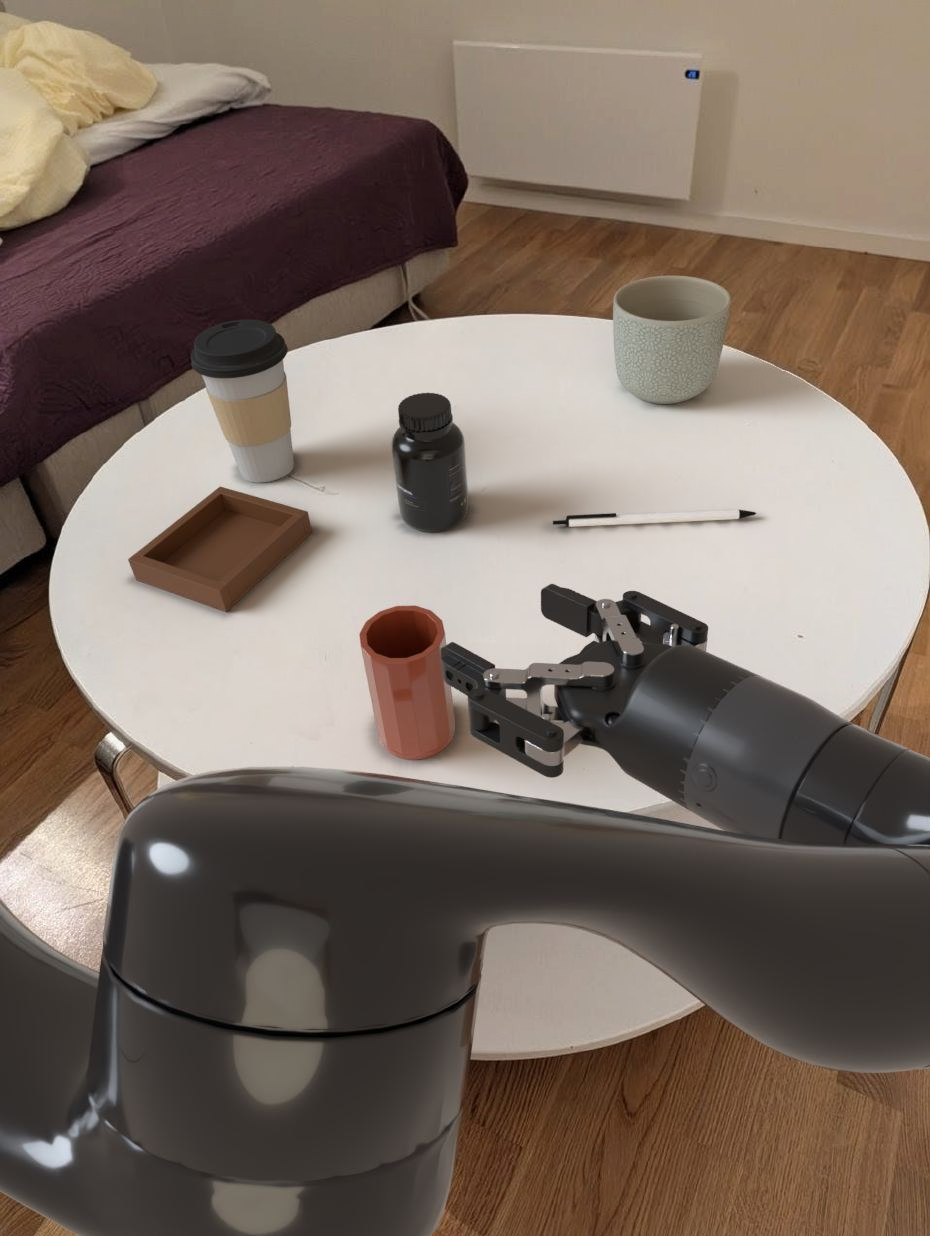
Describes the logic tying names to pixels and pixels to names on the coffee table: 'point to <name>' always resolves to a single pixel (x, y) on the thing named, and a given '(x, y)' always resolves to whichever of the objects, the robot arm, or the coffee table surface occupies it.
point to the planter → (669, 336)
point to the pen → (651, 517)
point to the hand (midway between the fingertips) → (497, 626)
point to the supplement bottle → (429, 464)
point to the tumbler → (408, 681)
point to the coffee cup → (249, 394)
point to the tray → (221, 548)
